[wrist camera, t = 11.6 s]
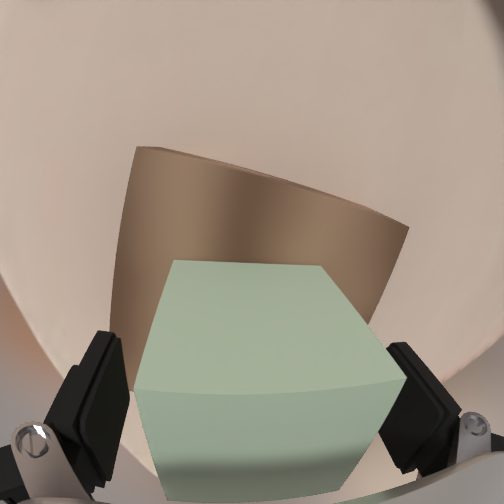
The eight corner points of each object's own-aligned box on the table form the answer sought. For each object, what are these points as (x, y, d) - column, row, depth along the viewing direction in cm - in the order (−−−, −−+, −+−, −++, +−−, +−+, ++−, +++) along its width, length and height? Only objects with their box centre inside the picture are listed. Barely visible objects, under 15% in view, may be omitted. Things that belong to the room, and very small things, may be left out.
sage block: (320, 265, 12) (406, 377, 6) (298, 374, 14) (338, 490, 8) (173, 259, 12) (133, 388, 5) (178, 373, 14) (167, 500, 7)
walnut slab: (363, 205, 17) (409, 227, 12) (297, 366, 21) (315, 416, 16) (161, 147, 15) (136, 146, 10) (128, 334, 18) (108, 384, 14)
